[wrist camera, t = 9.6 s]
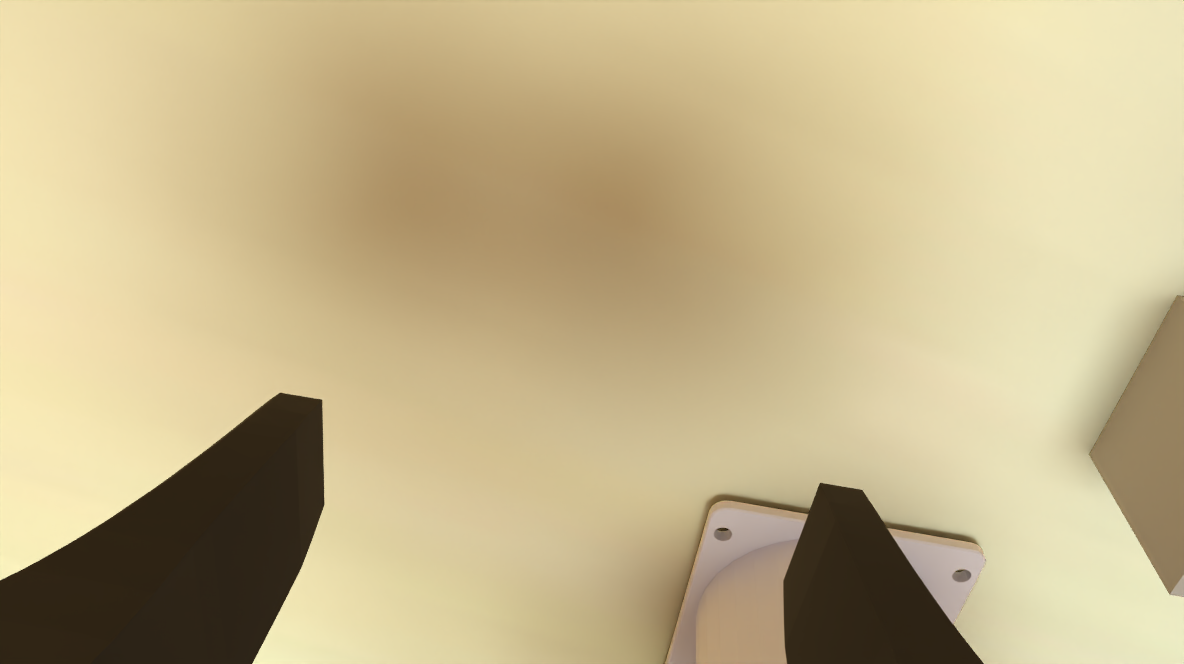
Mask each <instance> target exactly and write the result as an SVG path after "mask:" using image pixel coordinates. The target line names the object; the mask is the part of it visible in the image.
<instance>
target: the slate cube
mask: <svg viewBox="0 0 1184 664" xmlns="http://www.w3.org/2000/svg"><path fill="white" fill-rule="evenodd" d="M1089 456H1090V457H1091V459H1092V461H1093V462H1094V464H1095V466H1096V468H1097V469H1098V471H1099V473H1100V475H1101V476H1102V478H1103V480H1104V482H1105V483H1106V485H1107V487H1108V489H1109V490H1110V492H1111V494H1112V495H1113V497H1114V499H1115V501H1116V502H1117V504H1118V506H1119V508H1120V509H1121V511H1122V513H1123V515H1124V516H1125V518H1126V520H1127V521H1128V523H1129V525H1130V527H1131V528H1132V530H1133V532H1134V534H1135V535H1136V537H1137V539H1138V541H1139V542H1140V544H1141V546H1142V548H1143V549H1144V551H1145V553H1146V554H1147V556H1148V558H1149V560H1150V561H1151V563H1152V565H1153V567H1154V568H1155V570H1156V572H1157V574H1158V575H1159V577H1160V579H1161V580H1162V582H1163V584H1164V586H1165V587H1166V589H1167V591H1168V593H1169V594H1170V595H1175V596H1181V597H1184V296H1178V295H1177V297H1176V299H1175V301H1174V303H1173V304H1172V306H1171V308H1170V310H1169V312H1168V313H1167V315H1166V317H1165V319H1164V321H1163V322H1162V324H1161V326H1160V328H1159V330H1158V331H1157V333H1156V335H1155V337H1154V339H1153V340H1152V342H1151V344H1150V346H1149V348H1148V349H1147V351H1146V353H1145V355H1144V357H1143V358H1142V360H1141V362H1140V364H1139V366H1138V367H1137V369H1136V371H1135V373H1134V375H1133V377H1132V378H1131V380H1130V382H1129V384H1128V386H1127V387H1126V389H1125V391H1124V393H1123V395H1122V396H1121V398H1120V400H1119V402H1118V404H1117V405H1116V407H1115V409H1114V411H1113V413H1112V414H1111V416H1110V418H1109V420H1108V422H1107V423H1106V425H1105V427H1104V429H1103V431H1102V432H1101V434H1100V436H1099V438H1098V440H1097V441H1096V443H1095V445H1094V447H1093V449H1092V450H1091V452H1090V454H1089Z"/></svg>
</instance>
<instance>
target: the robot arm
mask: <svg viewBox="0 0 1184 664" xmlns="http://www.w3.org/2000/svg"><path fill="white" fill-rule="evenodd" d="M323 507H324V467H323V419H322V400H320V399H314V398H308V397H302V396H296V395H290V394H284V393H279V394H278V395H276V396H275V397H273V398H272V399H270V400H269V401H268V402H267V403H265V404H264V405H263V406H261V407H260V408H259V409H258V410H256V411H255V412H254V413H253V414H251V415H250V416H249V417H248V418H246V419H245V420H244V421H243V422H241V423H240V424H239V425H238V426H236V427H235V428H234V429H233V430H231V431H230V432H229V433H228V434H226V435H225V436H224V437H222V438H221V439H220V440H219V441H217V442H216V443H215V444H213V445H212V446H211V447H210V448H208V449H207V450H206V451H204V452H203V453H202V454H200V455H199V456H198V457H196V458H195V459H194V460H192V461H191V462H190V463H188V464H187V465H186V466H184V467H183V468H182V469H180V470H179V471H178V472H176V473H175V474H174V475H172V476H171V477H170V478H168V479H167V480H165V481H164V482H163V483H161V484H160V485H158V486H157V487H156V488H154V489H153V490H151V491H150V492H148V493H147V494H145V495H144V496H142V497H141V498H139V499H138V500H136V501H135V502H134V503H132V504H131V505H129V506H128V507H126V508H125V509H123V510H122V511H120V512H119V513H117V514H116V515H114V516H113V517H111V518H110V519H108V520H107V521H105V522H104V523H102V524H100V525H99V526H97V527H96V528H94V529H92V530H91V531H89V532H88V533H86V534H84V535H83V536H81V537H79V538H78V539H76V540H74V541H73V542H71V543H69V544H68V545H66V546H64V547H62V548H61V549H59V550H57V551H55V552H54V553H52V554H50V555H48V556H47V557H45V558H43V559H41V560H39V561H38V562H36V563H34V564H32V565H30V566H28V567H26V568H25V569H23V570H21V571H19V572H17V573H15V574H13V575H10V576H8V577H6V578H4V579H2V580H0V664H252V663H253V661H254V659H255V657H256V655H257V653H258V652H259V650H260V648H261V646H262V644H263V642H264V640H265V638H266V636H267V634H268V632H269V630H270V628H271V626H272V625H273V623H274V621H275V619H276V617H277V615H278V613H279V611H280V609H281V607H282V605H283V603H284V601H285V599H286V597H287V595H288V593H289V591H290V589H291V587H292V585H293V583H294V581H295V579H296V577H297V575H298V573H299V571H300V569H301V567H302V565H303V562H304V559H305V557H306V554H307V551H308V549H309V546H310V543H311V541H312V538H313V535H314V532H315V530H316V527H317V524H318V521H319V518H320V515H321V513H322V510H323ZM718 528H727V529H729V530H727V531H718V530H716V529H718ZM985 562H986V559H985V557H984V554H983V551H982V549H981V547H979V546H978V545H977V544H974V543H971V542H965V541H960V540H954V539H948V538H942V537H937V536H931V535H925V534H919V533H914V532H908V531H902V530H896V529H891V528H887V527H886V526H885V524H884V522H883V521H882V519H881V518H880V516H879V515H878V513H877V512H876V510H875V509H874V507H873V506H872V504H871V503H870V501H869V500H868V498H867V497H866V495H865V494H864V492H863V491H862V490H859V489H853V488H847V487H841V486H835V485H829V484H823V483H820V484H819V487H818V490H817V492H816V495H815V498H814V500H813V503H812V506H811V508H810V511H809V514H804V513H798V512H793V511H787V510H781V509H775V508H770V507H764V506H758V505H752V504H747V503H741V502H735V501H724V500H723V501H720V502H717V503H715V504H714V505H712V507H711V508H710V510H709V513H708V517H707V520H706V524H705V527H704V531H703V534H702V538H701V541H700V544H699V548H698V551H697V555H696V558H695V562H694V565H693V569H692V572H691V576H690V579H689V583H688V586H687V589H686V593H685V596H684V600H683V603H682V607H681V610H680V614H679V617H678V621H677V624H676V627H675V631H674V634H673V638H672V641H671V645H670V648H669V652H668V655H667V659H666V662H665V664H983V662H982V661H981V660H980V658H979V657H978V656H977V655H976V653H975V652H974V651H973V650H972V648H971V647H970V646H969V645H968V643H967V642H966V641H965V639H964V638H963V637H962V636H961V634H960V633H959V632H958V630H957V629H956V628H955V626H954V625H953V624H954V623H955V621H956V619H957V617H958V615H959V613H960V611H961V609H962V607H963V606H964V604H965V602H966V600H967V598H968V596H969V594H970V592H971V590H972V589H973V587H974V585H975V583H976V581H977V579H978V577H979V575H980V573H981V572H982V570H983V568H984V566H985ZM960 569H965V570H964V571H961V572H955V571H957V570H960Z"/></svg>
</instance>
